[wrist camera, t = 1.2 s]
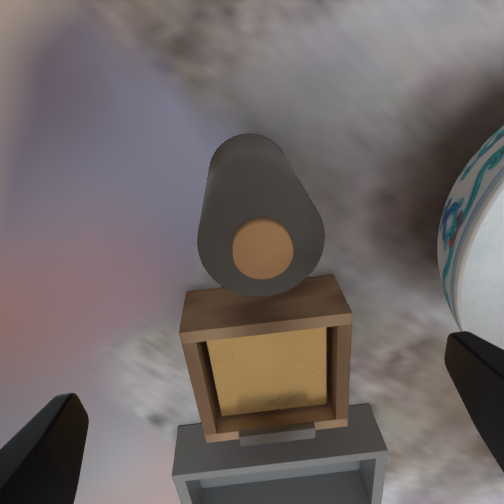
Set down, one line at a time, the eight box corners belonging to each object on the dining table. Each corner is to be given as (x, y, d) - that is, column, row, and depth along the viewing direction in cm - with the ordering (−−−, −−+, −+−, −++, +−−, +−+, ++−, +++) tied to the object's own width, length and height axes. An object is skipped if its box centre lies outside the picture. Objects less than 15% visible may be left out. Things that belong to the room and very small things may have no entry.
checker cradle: (333, 275, 23) (355, 318, 20) (332, 381, 28) (349, 433, 24) (186, 291, 23) (177, 339, 19) (209, 395, 28) (206, 451, 24)
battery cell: (285, 129, 19) (329, 181, 11) (289, 207, 21) (329, 300, 13) (202, 138, 19) (184, 197, 11) (214, 215, 21) (207, 314, 13)
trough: (368, 403, 30) (387, 450, 26) (364, 462, 33) (380, 510, 30) (178, 426, 29) (171, 475, 26) (195, 482, 33) (191, 533, 30)
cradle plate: (322, 310, 22) (326, 321, 21) (323, 392, 26) (326, 403, 25) (206, 324, 22) (205, 335, 21) (222, 403, 26) (221, 416, 25)
